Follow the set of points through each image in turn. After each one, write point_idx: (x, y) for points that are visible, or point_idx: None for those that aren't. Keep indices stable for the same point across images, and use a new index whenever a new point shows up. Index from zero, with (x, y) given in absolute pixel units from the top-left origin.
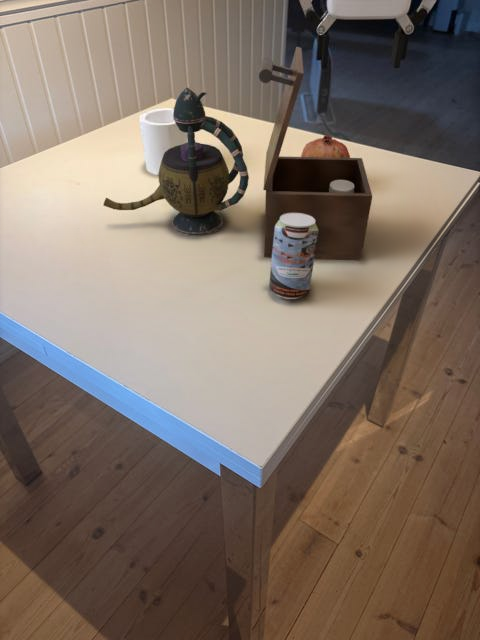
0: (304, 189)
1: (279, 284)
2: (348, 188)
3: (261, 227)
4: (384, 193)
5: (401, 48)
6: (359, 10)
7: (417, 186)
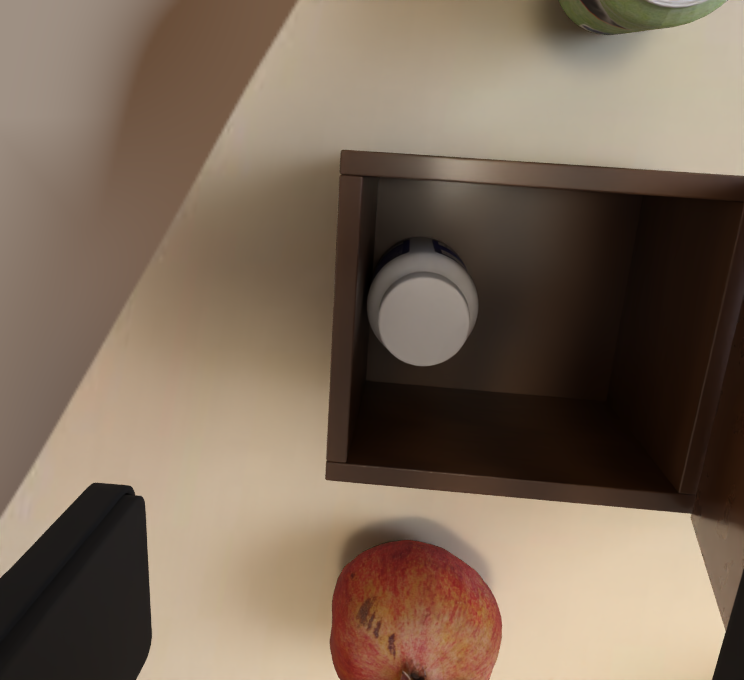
0: (522, 427)
1: None
2: (404, 294)
3: None
4: (233, 522)
5: (15, 578)
6: None
7: None
